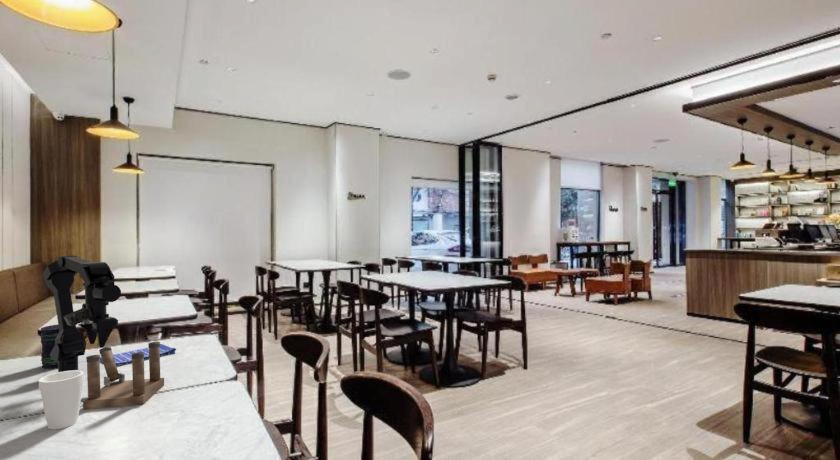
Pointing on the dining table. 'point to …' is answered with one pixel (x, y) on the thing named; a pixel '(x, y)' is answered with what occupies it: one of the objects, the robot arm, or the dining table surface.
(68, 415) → the foam cup
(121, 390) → the stool
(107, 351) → the hinged leg
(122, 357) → the dish towel
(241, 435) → the dining table surface
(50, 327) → the storage jar
